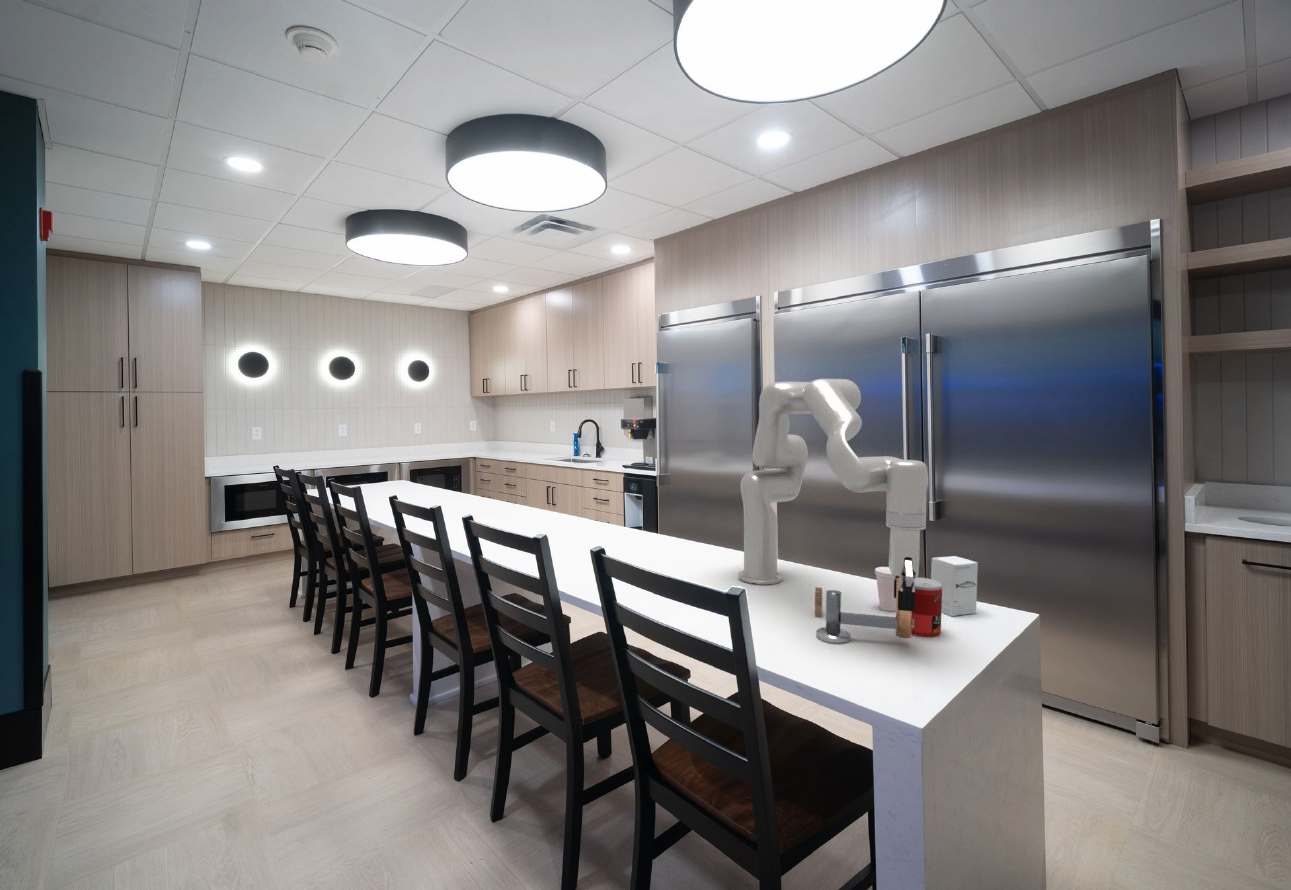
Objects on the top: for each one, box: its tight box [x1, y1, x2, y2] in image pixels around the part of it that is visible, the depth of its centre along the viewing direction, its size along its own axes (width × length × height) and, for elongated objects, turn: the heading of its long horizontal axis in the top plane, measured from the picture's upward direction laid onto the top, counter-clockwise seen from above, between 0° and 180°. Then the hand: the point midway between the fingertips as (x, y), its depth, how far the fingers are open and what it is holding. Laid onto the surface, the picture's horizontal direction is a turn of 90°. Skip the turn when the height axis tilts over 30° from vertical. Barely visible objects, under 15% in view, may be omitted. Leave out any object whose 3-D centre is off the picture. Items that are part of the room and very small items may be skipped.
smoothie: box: [874, 566, 896, 612], centre depth 146 cm, size 6×6×14 cm
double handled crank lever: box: [825, 577, 912, 639], centre depth 126 cm, size 17×3×13 cm, turn 73°
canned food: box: [911, 576, 942, 638], centre depth 132 cm, size 8×8×11 cm
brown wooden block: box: [814, 586, 823, 619], centre depth 142 cm, size 4×2×6 cm, turn 163°
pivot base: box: [815, 626, 851, 645], centre depth 128 cm, size 7×7×1 cm
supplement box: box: [930, 555, 979, 617], centre depth 144 cm, size 7×7×13 cm
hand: (904, 603), depth 124 cm, fingers open, 7 cm apart
